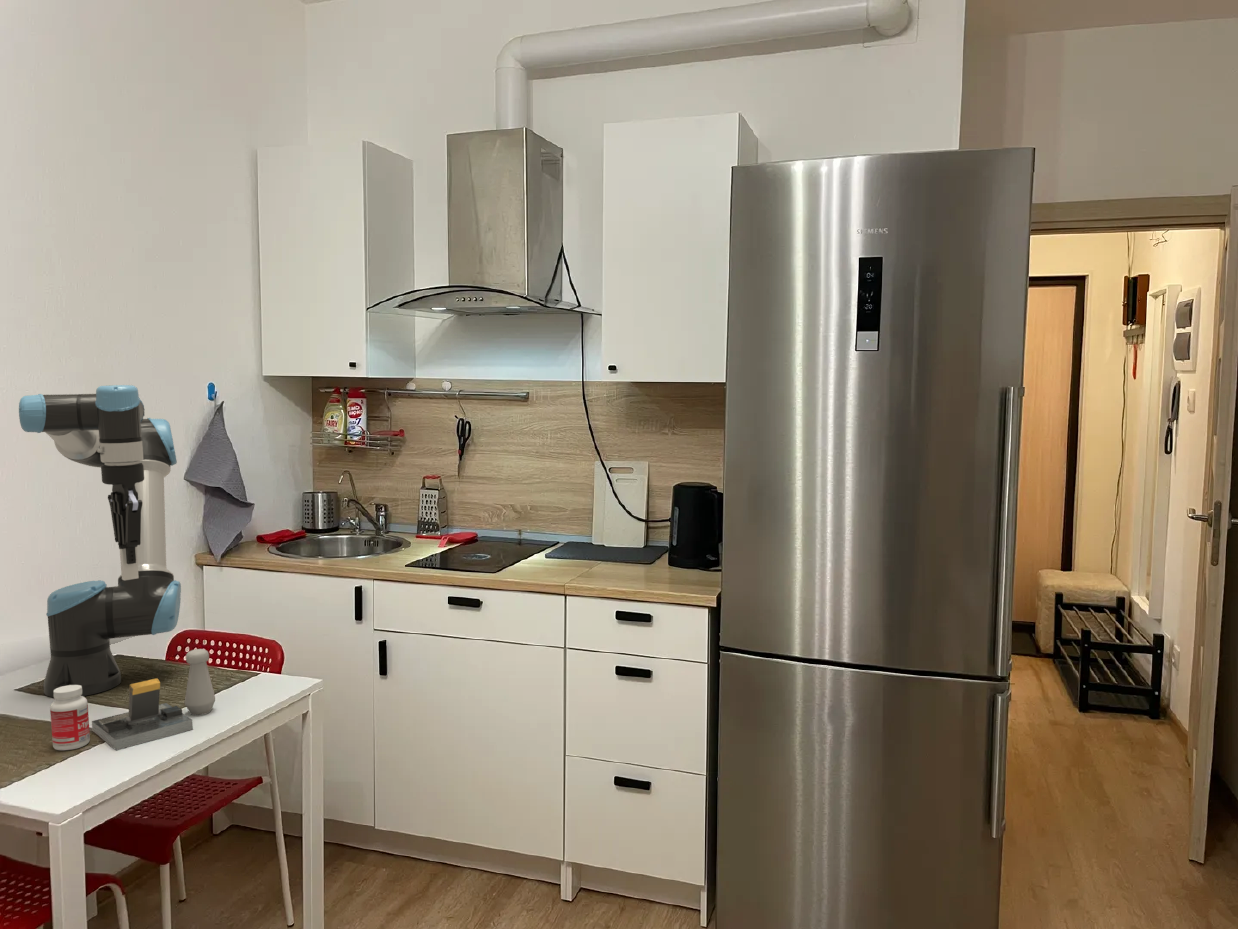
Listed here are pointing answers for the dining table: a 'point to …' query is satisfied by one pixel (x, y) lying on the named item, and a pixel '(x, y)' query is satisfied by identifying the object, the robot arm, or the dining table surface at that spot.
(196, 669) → the salt shaker
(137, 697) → the paddle
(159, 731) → the panel
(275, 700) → the dining table surface
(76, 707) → the pill bottle
